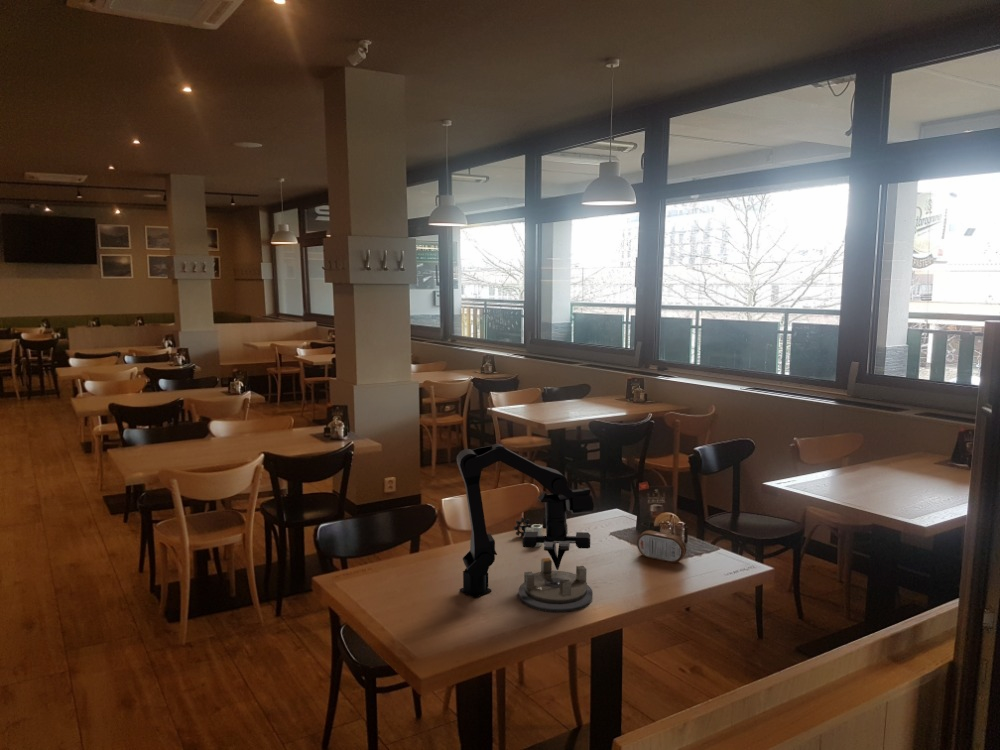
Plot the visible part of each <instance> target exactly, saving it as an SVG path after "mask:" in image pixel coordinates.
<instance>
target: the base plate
mask: <svg viewBox="0 0 1000 750" xmlns="http://www.w3.org/2000/svg"><path fill="white" fill-rule="evenodd" d="M593 598H594V597H593V589H592V587H591V586H590V585H589V584H587V594H586V595H585V597H583V598H582V599H580V600H578V601H575V602H571V603H564V604H552V603H544V602H540V601H537V600H534V599H532V598H530V597H529V596H527V595H526V593H525V591H524V582H522V583H521V584H520V586H519V588H518V599H519V600H520V601H521V602H522V604H524V605H526V606H527V607H529V608H532V609H534V610H538V611H540V612H541V611H542V612H546V613H568V612H574V611H578V610H581V609H584V608H585V607H588V606H589V605H590V604H591V602H592V601H593Z"/></svg>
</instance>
